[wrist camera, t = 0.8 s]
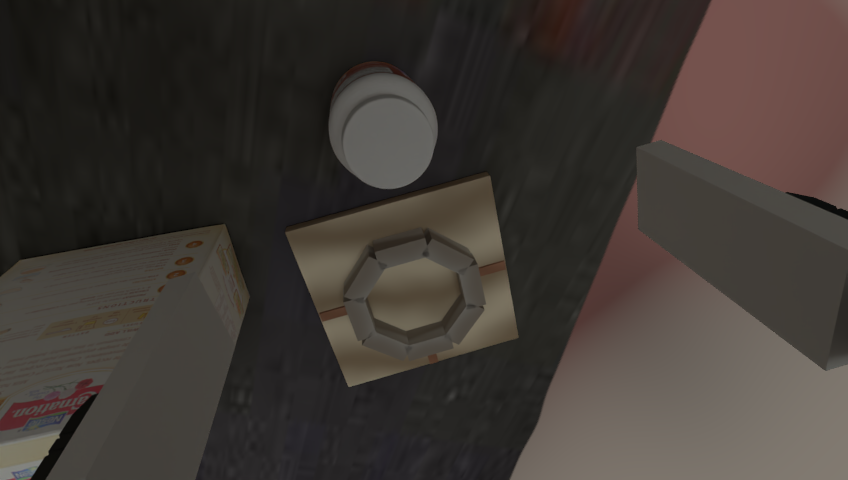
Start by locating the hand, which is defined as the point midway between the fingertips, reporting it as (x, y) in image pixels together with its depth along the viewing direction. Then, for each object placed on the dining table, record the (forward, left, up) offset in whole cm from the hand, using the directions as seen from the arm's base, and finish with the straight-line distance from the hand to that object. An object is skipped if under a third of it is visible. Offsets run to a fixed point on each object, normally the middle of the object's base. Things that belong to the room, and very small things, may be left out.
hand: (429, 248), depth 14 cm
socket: (+15, -1, -22) cm, 27 cm away
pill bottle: (0, 0, -23) cm, 23 cm away
